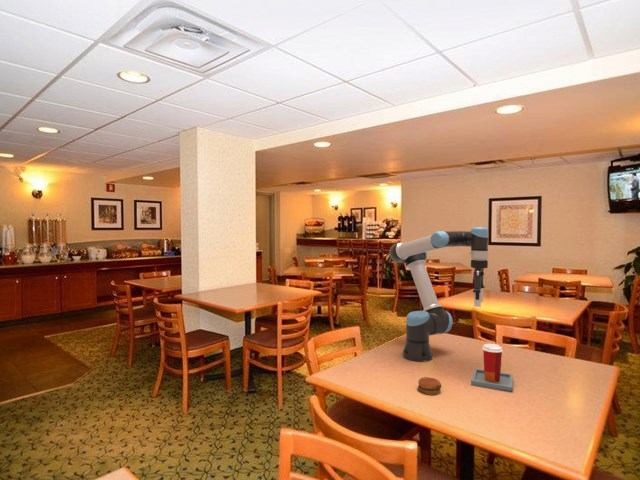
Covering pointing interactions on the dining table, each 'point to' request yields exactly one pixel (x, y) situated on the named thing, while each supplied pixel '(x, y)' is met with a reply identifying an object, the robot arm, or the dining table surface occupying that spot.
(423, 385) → the burger
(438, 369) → the dining table surface
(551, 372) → the dining table surface
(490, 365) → the coffee cup
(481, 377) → the tray
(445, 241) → the robot arm
